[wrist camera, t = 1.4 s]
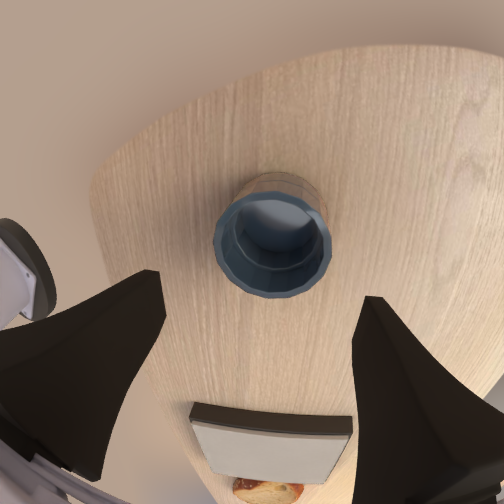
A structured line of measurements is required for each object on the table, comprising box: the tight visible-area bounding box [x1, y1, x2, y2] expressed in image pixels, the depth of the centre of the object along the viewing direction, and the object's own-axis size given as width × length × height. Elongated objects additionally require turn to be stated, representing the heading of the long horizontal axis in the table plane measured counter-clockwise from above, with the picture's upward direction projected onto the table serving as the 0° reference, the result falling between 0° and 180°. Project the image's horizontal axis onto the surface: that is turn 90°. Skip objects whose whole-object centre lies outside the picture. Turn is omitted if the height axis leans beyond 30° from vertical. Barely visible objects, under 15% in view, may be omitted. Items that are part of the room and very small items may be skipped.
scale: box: [189, 402, 353, 484], centre depth 30 cm, size 17×17×3 cm
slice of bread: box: [233, 478, 304, 504], centre depth 40 cm, size 18×18×4 cm
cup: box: [213, 172, 332, 299], centre depth 16 cm, size 6×6×4 cm
